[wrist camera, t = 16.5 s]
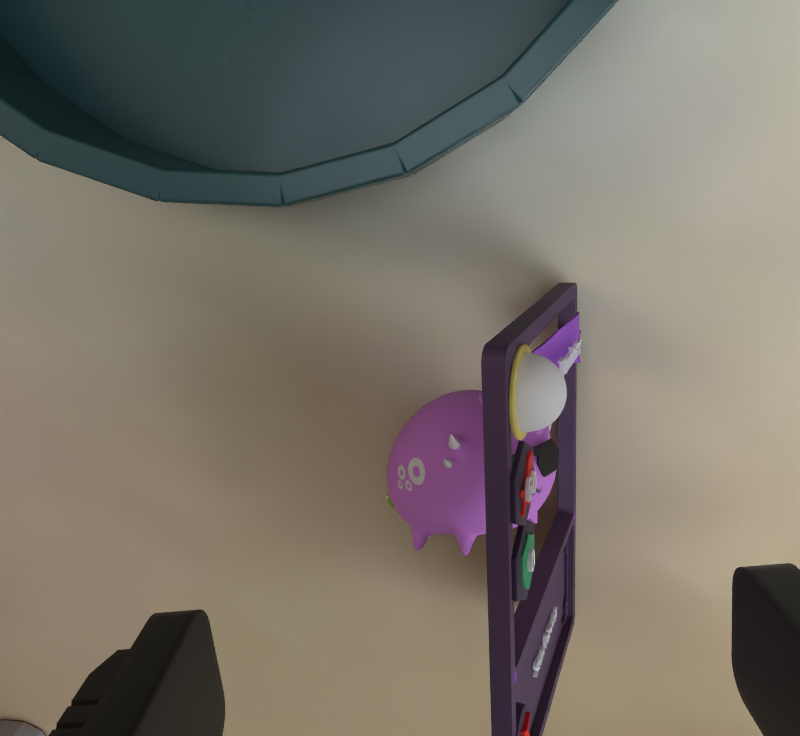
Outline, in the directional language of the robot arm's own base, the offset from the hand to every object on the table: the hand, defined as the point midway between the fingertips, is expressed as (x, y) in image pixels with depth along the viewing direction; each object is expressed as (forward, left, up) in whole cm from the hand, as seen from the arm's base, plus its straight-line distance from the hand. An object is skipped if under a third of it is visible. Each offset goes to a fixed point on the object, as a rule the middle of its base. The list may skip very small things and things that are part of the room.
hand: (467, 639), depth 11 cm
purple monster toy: (+1, 0, -8) cm, 8 cm away
